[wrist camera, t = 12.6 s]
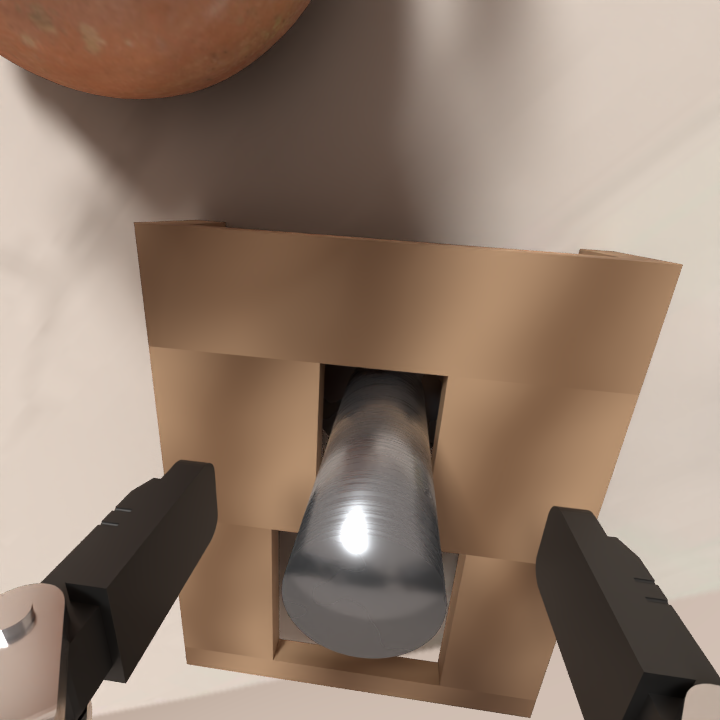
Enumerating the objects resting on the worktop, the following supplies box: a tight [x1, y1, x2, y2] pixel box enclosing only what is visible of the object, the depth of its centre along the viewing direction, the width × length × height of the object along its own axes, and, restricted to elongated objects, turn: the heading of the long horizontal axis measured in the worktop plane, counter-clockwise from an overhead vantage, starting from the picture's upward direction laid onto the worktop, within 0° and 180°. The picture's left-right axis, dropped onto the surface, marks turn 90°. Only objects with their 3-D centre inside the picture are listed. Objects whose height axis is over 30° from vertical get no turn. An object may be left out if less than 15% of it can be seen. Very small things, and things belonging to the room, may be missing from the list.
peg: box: [282, 364, 447, 659], centre depth 13 cm, size 6×6×11 cm
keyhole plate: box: [134, 220, 683, 718], centre depth 17 cm, size 16×20×4 cm
